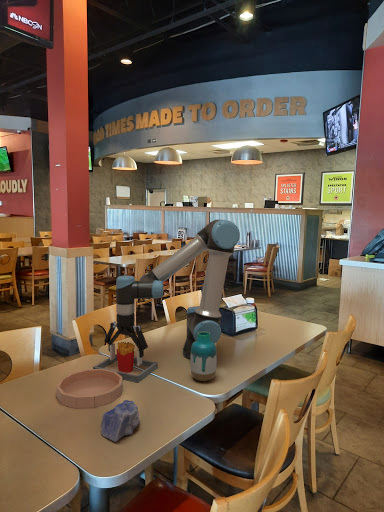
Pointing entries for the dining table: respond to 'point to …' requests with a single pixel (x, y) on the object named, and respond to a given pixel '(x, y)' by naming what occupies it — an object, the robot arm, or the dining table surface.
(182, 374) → the dining table surface
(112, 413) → the mineral
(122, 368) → the french fries
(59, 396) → the bowl
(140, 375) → the gray square frame
